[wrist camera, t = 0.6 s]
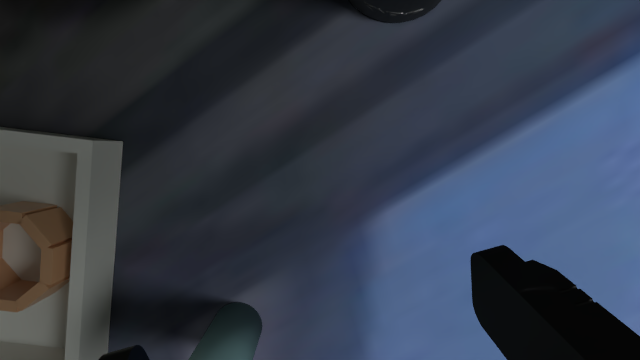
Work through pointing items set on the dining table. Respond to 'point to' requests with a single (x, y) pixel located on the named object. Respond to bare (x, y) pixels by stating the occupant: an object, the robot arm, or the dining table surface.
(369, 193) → the dining table surface
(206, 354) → the teal capped tube
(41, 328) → the open box
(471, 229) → the dining table surface
